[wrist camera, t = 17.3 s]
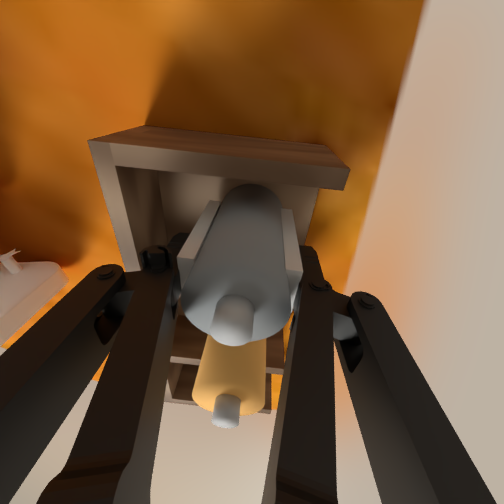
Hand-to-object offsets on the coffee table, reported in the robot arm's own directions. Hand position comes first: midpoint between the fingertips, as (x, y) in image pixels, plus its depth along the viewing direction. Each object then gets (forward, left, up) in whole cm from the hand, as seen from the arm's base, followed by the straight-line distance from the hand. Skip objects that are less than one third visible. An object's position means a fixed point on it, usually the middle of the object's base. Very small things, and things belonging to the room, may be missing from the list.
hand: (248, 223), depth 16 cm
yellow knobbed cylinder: (+8, 0, -1) cm, 9 cm away
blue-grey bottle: (0, 0, -1) cm, 1 cm away
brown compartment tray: (+8, -2, -2) cm, 9 cm away
